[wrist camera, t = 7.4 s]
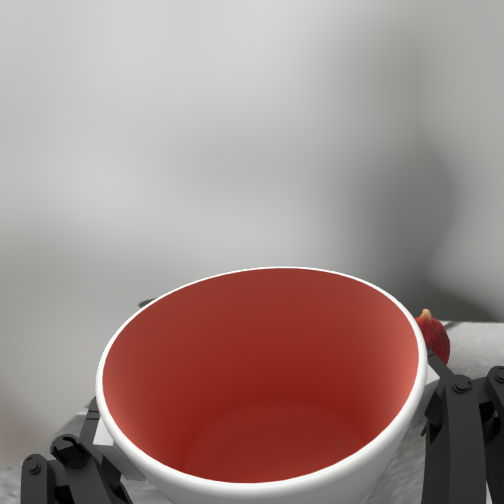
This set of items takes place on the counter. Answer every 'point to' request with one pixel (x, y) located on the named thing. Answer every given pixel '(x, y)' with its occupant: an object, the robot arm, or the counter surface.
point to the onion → (434, 335)
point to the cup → (264, 387)
